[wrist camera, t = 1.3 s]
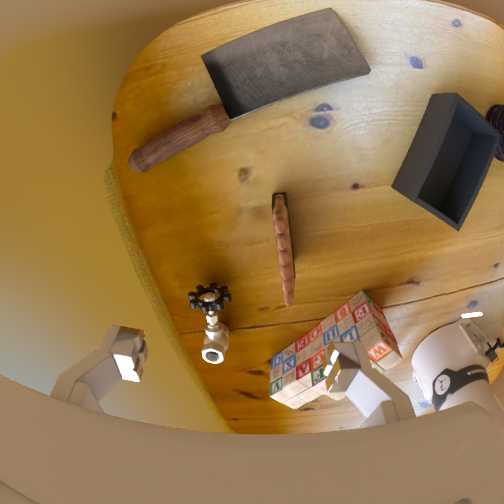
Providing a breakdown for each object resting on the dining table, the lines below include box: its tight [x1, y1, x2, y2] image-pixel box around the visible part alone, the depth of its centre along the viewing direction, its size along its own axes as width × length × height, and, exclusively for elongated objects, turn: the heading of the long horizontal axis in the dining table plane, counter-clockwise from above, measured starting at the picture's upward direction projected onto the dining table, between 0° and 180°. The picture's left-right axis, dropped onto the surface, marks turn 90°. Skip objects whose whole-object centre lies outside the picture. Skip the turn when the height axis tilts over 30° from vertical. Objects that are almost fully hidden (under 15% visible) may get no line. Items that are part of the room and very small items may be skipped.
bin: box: [391, 93, 501, 231], centre depth 30 cm, size 10×16×7 cm, turn 159°
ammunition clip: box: [272, 192, 295, 307], centre depth 35 cm, size 11×2×12 cm, turn 9°
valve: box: [188, 283, 232, 364], centre depth 45 cm, size 7×7×12 cm
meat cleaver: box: [128, 8, 371, 172], centre depth 30 cm, size 34×11×4 cm, turn 115°
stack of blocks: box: [270, 290, 403, 409], centre depth 42 cm, size 21×6×12 cm, turn 139°
